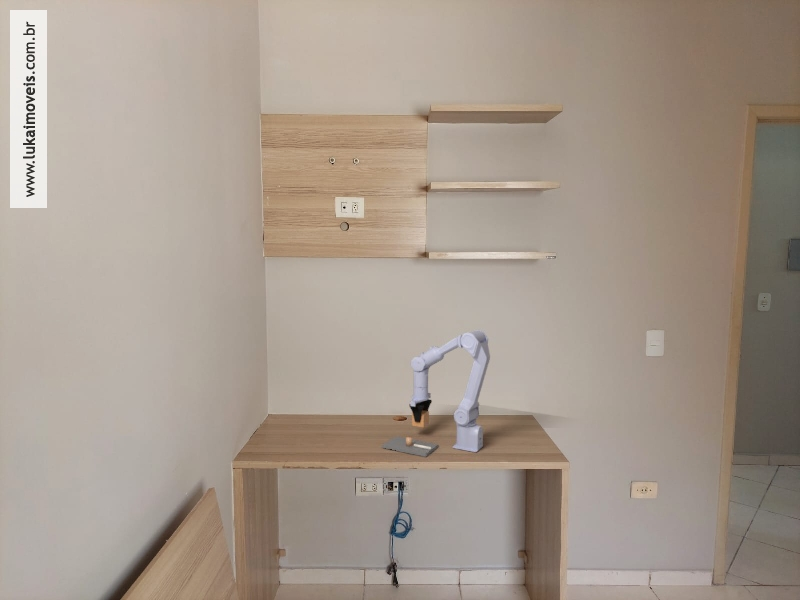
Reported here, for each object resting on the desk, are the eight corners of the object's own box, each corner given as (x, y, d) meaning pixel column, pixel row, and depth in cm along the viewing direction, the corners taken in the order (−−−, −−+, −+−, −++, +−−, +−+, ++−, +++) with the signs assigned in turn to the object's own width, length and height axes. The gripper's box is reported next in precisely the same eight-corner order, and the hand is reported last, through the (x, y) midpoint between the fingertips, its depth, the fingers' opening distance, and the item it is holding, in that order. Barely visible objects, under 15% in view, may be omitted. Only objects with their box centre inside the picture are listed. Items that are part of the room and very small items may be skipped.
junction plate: (438, 446, 193) (438, 436, 193) (425, 456, 183) (426, 445, 183) (395, 438, 201) (395, 428, 201) (381, 447, 192) (381, 437, 191)
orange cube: (428, 423, 205) (428, 411, 205) (423, 427, 201) (423, 414, 201) (417, 421, 208) (417, 409, 207) (412, 425, 203) (412, 413, 203)
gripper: (419, 381, 211) (419, 413, 212) (403, 388, 199) (403, 423, 200) (435, 383, 208) (435, 415, 209) (419, 391, 195) (419, 426, 196)
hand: (420, 419), depth 204 cm, fingers closed on orange cube, 5 cm apart
